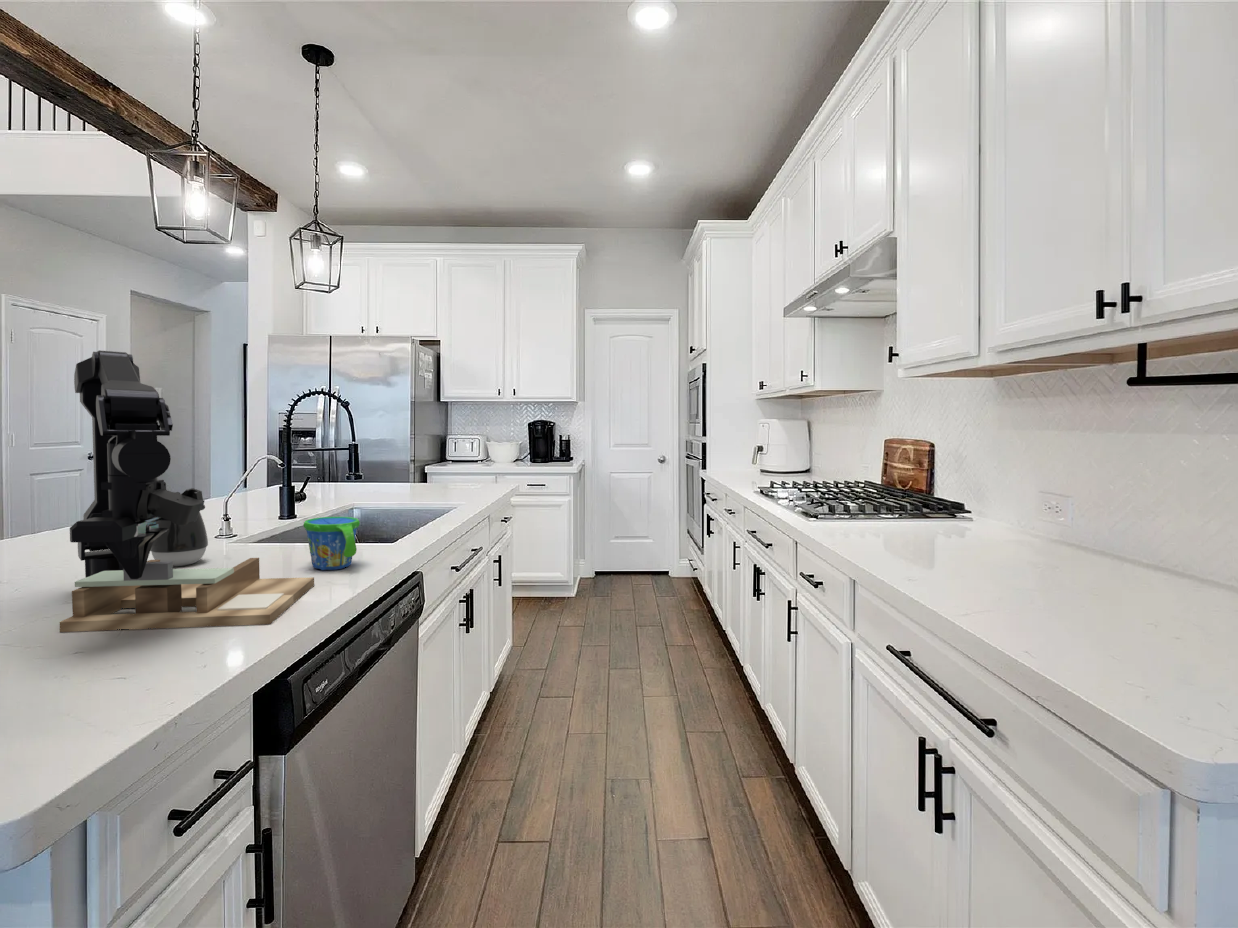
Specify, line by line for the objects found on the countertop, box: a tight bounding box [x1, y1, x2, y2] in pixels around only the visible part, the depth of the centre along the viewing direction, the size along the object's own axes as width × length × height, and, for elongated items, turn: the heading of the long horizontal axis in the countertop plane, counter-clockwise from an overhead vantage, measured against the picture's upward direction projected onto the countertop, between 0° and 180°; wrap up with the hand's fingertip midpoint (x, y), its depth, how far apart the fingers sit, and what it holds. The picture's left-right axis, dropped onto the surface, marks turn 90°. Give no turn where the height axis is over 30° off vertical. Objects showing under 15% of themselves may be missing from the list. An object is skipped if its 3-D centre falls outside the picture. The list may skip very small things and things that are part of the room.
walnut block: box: [135, 584, 183, 614], centre depth 98 cm, size 4×4×5 cm
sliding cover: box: [74, 561, 234, 588], centre depth 97 cm, size 19×7×3 cm, turn 101°
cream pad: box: [218, 593, 284, 611], centre depth 100 cm, size 7×8×1 cm
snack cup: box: [303, 516, 360, 571], centre depth 131 cm, size 16×10×10 cm
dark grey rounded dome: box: [150, 511, 209, 568], centre depth 131 cm, size 10×10×15 cm
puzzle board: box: [59, 557, 315, 633], centre depth 103 cm, size 28×23×6 cm
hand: (136, 578), depth 92 cm, fingers closed
